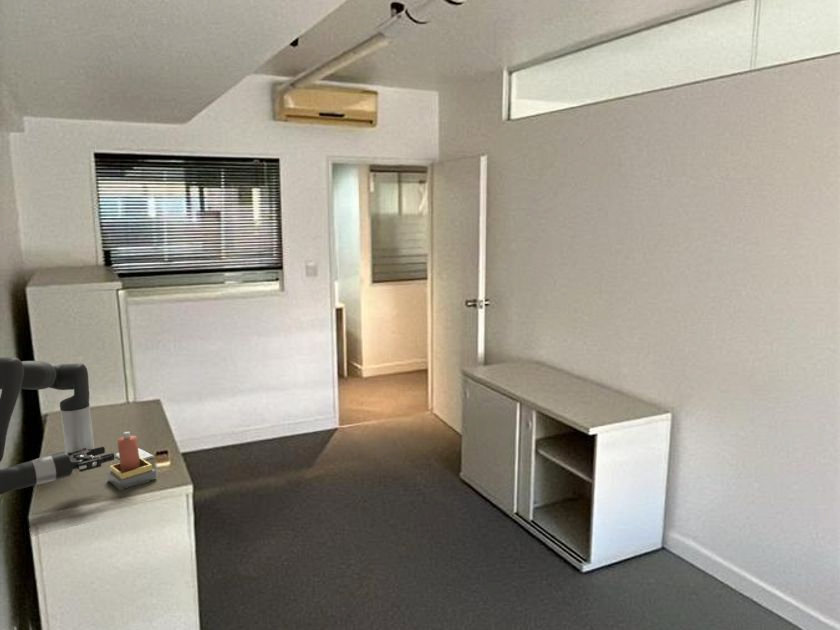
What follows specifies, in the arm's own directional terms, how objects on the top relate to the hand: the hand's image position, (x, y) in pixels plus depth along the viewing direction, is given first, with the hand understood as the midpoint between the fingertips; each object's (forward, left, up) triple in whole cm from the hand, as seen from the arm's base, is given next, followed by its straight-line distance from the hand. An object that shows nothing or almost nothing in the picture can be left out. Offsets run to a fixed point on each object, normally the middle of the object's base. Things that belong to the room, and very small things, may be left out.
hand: (108, 452), depth 191 cm
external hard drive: (-20, +14, -12) cm, 27 cm away
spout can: (0, +6, -8) cm, 10 cm away
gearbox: (0, +6, -11) cm, 13 cm away
